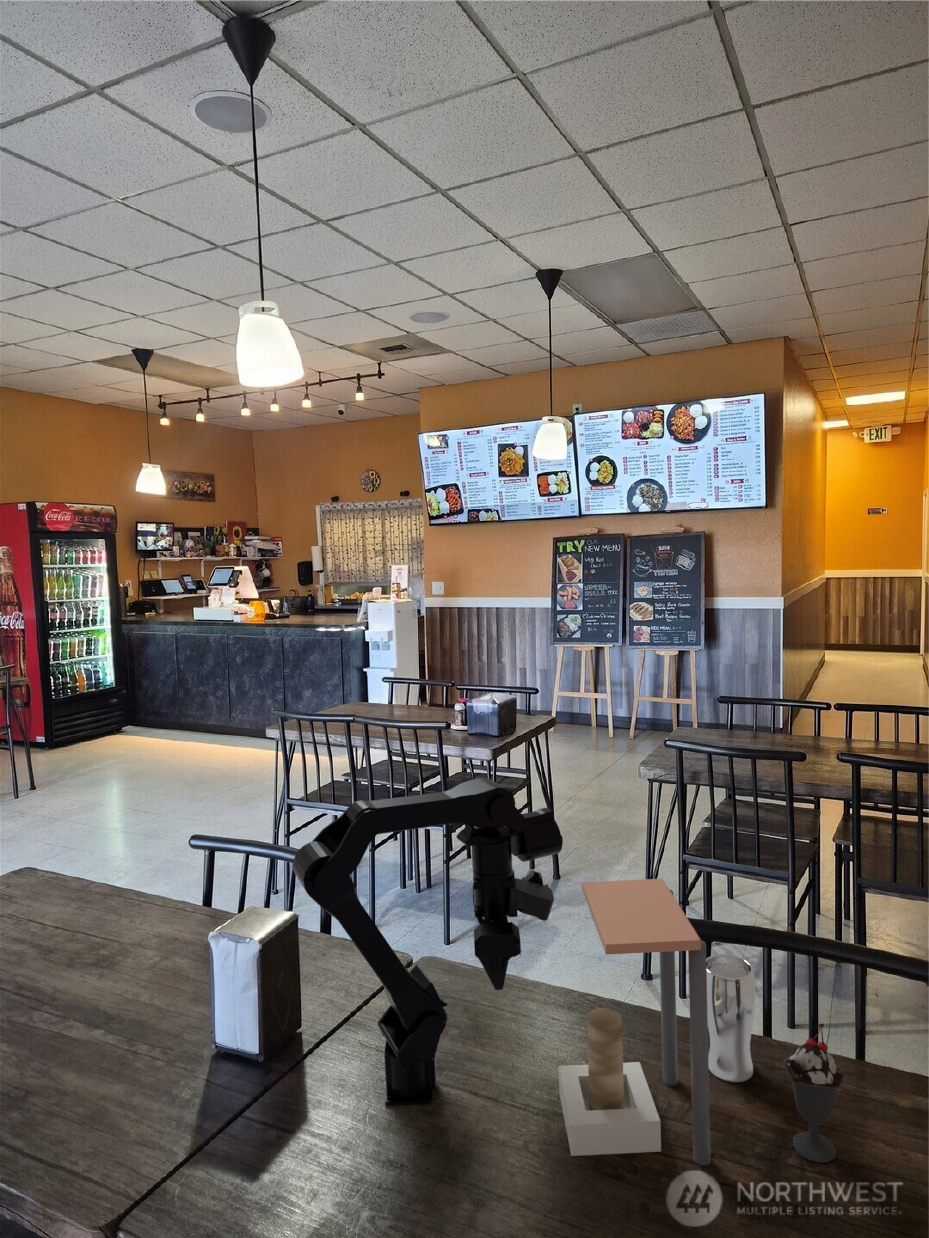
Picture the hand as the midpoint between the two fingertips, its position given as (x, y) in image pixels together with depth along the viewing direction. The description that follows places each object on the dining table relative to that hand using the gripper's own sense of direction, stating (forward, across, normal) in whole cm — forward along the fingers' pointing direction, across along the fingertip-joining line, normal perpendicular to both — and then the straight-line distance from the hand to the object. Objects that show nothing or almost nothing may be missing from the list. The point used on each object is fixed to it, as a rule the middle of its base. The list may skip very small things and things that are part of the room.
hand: (497, 971), depth 114 cm
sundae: (+13, -20, -37) cm, 44 cm away
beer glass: (+13, -5, -32) cm, 35 cm away
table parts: (+13, -14, -16) cm, 25 cm away
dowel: (+12, -14, -13) cm, 22 cm away
